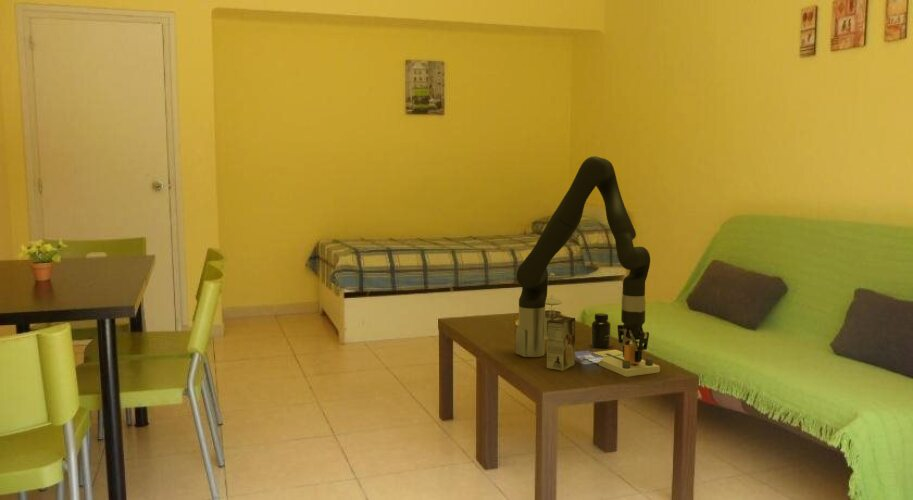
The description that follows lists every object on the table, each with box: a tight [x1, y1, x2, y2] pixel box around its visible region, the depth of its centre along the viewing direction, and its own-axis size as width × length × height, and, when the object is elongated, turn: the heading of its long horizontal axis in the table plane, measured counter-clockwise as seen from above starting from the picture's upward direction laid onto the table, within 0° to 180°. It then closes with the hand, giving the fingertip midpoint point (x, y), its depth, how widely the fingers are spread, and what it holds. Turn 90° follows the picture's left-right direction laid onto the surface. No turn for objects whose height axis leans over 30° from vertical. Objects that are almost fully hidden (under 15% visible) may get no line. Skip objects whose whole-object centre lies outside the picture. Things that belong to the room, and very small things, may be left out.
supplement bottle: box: [590, 312, 611, 349], centre depth 284 cm, size 7×7×12 cm
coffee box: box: [546, 315, 576, 372], centre depth 256 cm, size 9×6×16 cm
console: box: [593, 349, 661, 378], centre depth 258 cm, size 13×24×4 cm, turn 24°
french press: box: [545, 272, 563, 340], centre depth 297 cm, size 10×12×25 cm
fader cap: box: [624, 343, 640, 365], centre depth 252 cm, size 4×3×6 cm, turn 114°
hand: (632, 359), depth 252 cm, fingers open, 5 cm apart
